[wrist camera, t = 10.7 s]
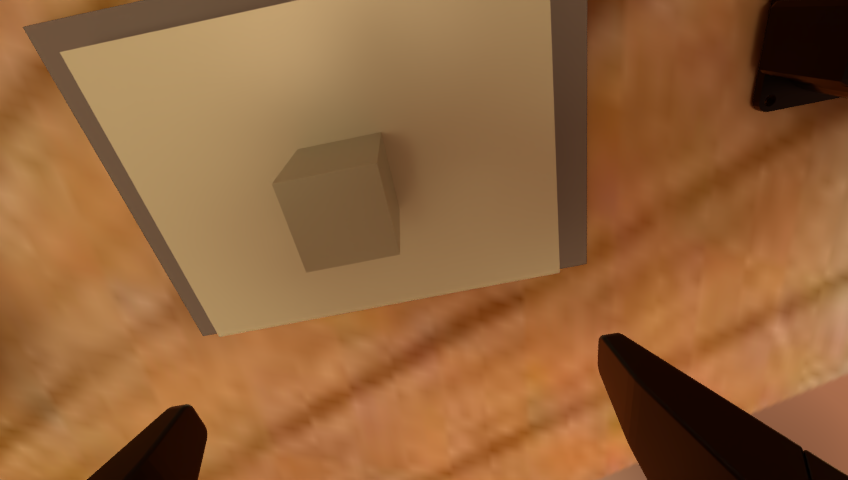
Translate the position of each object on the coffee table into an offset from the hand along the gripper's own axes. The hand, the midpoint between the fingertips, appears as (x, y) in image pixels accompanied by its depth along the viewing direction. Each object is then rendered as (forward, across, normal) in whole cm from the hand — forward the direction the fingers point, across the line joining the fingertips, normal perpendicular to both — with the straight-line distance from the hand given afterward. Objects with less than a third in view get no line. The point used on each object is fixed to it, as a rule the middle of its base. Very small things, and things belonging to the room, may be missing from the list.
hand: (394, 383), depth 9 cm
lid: (+12, +2, -1) cm, 13 cm away
